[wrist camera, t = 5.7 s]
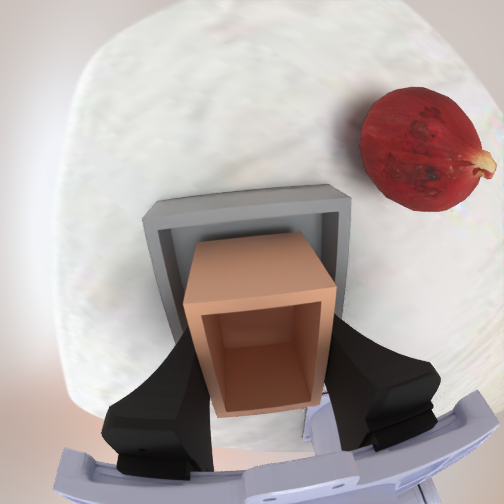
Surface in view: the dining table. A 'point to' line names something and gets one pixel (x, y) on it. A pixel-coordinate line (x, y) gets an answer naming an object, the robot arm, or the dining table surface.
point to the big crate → (244, 233)
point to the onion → (423, 150)
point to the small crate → (260, 322)
